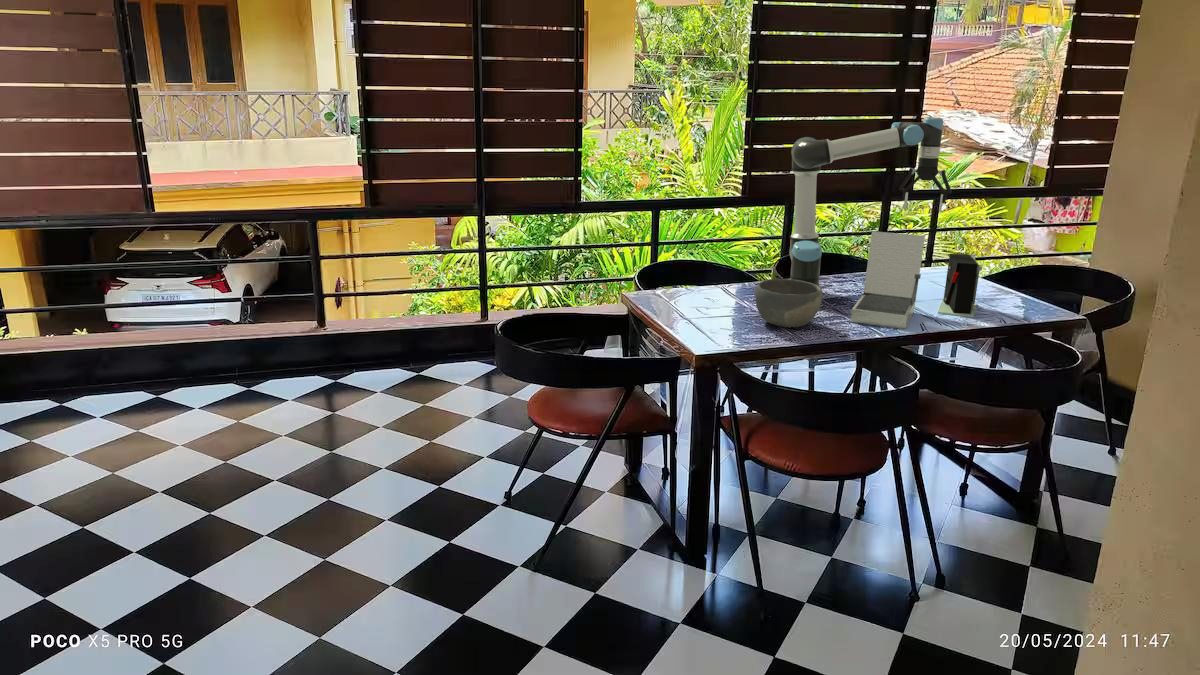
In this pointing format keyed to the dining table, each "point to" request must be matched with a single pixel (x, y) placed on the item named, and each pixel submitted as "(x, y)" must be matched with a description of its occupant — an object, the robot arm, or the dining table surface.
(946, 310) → the mat
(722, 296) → the dining table surface
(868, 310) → the case
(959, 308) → the electrical component
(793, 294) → the bowl
